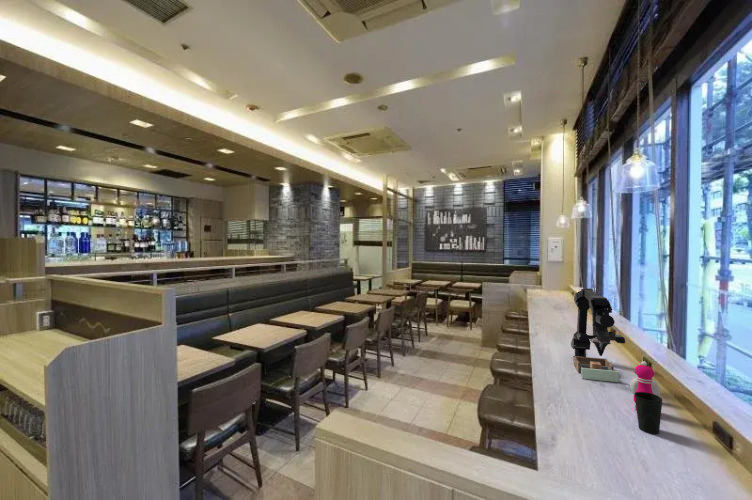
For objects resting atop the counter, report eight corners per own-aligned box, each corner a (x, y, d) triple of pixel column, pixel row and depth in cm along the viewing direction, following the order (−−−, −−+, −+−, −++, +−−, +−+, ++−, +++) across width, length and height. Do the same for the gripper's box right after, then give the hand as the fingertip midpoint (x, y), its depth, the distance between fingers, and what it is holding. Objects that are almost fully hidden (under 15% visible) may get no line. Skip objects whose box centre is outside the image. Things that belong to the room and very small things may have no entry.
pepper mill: (651, 418, 124) (650, 365, 124) (629, 410, 130) (628, 360, 130) (661, 413, 127) (659, 362, 127) (639, 405, 133) (638, 357, 133)
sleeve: (573, 365, 180) (573, 356, 180) (606, 368, 175) (606, 358, 175) (578, 373, 169) (578, 363, 169) (613, 376, 164) (613, 366, 164)
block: (592, 373, 165) (591, 363, 165) (590, 371, 169) (590, 361, 169) (601, 374, 164) (601, 364, 164) (599, 371, 167) (599, 362, 167)
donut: (659, 400, 137) (659, 377, 137) (661, 404, 134) (661, 380, 134) (629, 396, 142) (629, 373, 142) (631, 399, 139) (630, 375, 139)
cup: (665, 438, 111) (664, 403, 111) (636, 432, 115) (635, 398, 115) (660, 427, 117) (659, 394, 117) (633, 422, 121) (632, 390, 121)
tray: (576, 369, 173) (576, 360, 173) (611, 373, 167) (611, 363, 167) (582, 378, 162) (581, 368, 162) (619, 382, 156) (619, 371, 156)
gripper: (581, 325, 154) (582, 358, 153) (629, 327, 147) (630, 362, 146) (576, 321, 164) (577, 352, 164) (620, 323, 157) (621, 355, 157)
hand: (600, 355), depth 157 cm, fingers closed
